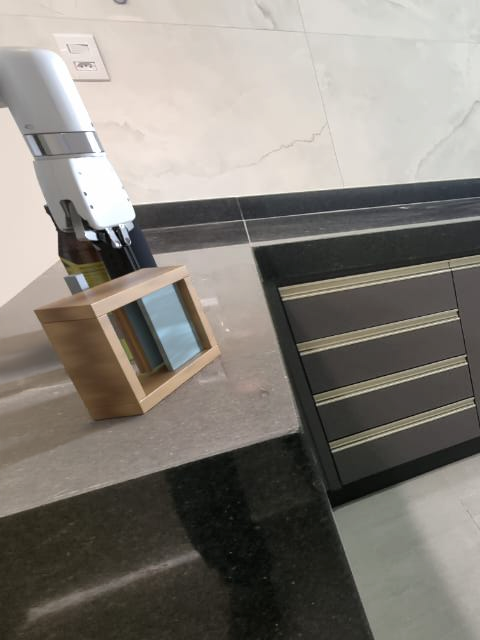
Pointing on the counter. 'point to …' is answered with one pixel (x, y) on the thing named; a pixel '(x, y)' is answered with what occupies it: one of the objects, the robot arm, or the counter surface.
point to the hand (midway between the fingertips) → (126, 272)
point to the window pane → (127, 328)
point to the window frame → (107, 352)
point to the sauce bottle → (80, 257)
